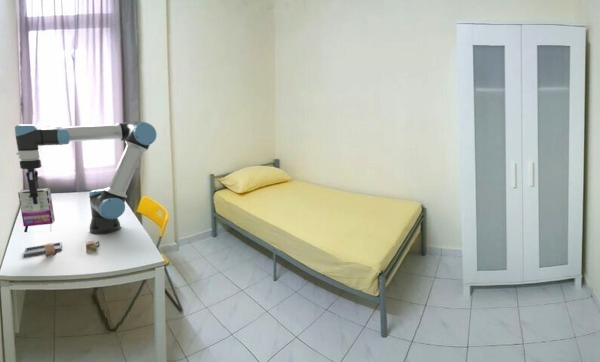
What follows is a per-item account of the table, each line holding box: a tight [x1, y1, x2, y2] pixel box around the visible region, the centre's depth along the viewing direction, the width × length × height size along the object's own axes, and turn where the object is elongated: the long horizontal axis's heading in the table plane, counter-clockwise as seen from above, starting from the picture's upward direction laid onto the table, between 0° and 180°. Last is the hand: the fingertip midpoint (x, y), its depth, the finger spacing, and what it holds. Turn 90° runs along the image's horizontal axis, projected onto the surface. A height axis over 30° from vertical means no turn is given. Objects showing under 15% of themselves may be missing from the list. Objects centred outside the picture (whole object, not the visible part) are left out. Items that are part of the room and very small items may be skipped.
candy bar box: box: [17, 187, 56, 227], centre depth 157 cm, size 11×5×16 cm, turn 113°
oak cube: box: [85, 240, 97, 253], centre depth 163 cm, size 4×4×4 cm
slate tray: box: [23, 242, 63, 258], centre depth 162 cm, size 14×8×2 cm, turn 123°
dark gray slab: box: [95, 240, 100, 248], centre depth 170 cm, size 4×6×1 cm, turn 30°
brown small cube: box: [43, 242, 57, 257], centre depth 157 cm, size 4×4×5 cm
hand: (37, 208), depth 157 cm, fingers closed on candy bar box, 5 cm apart
